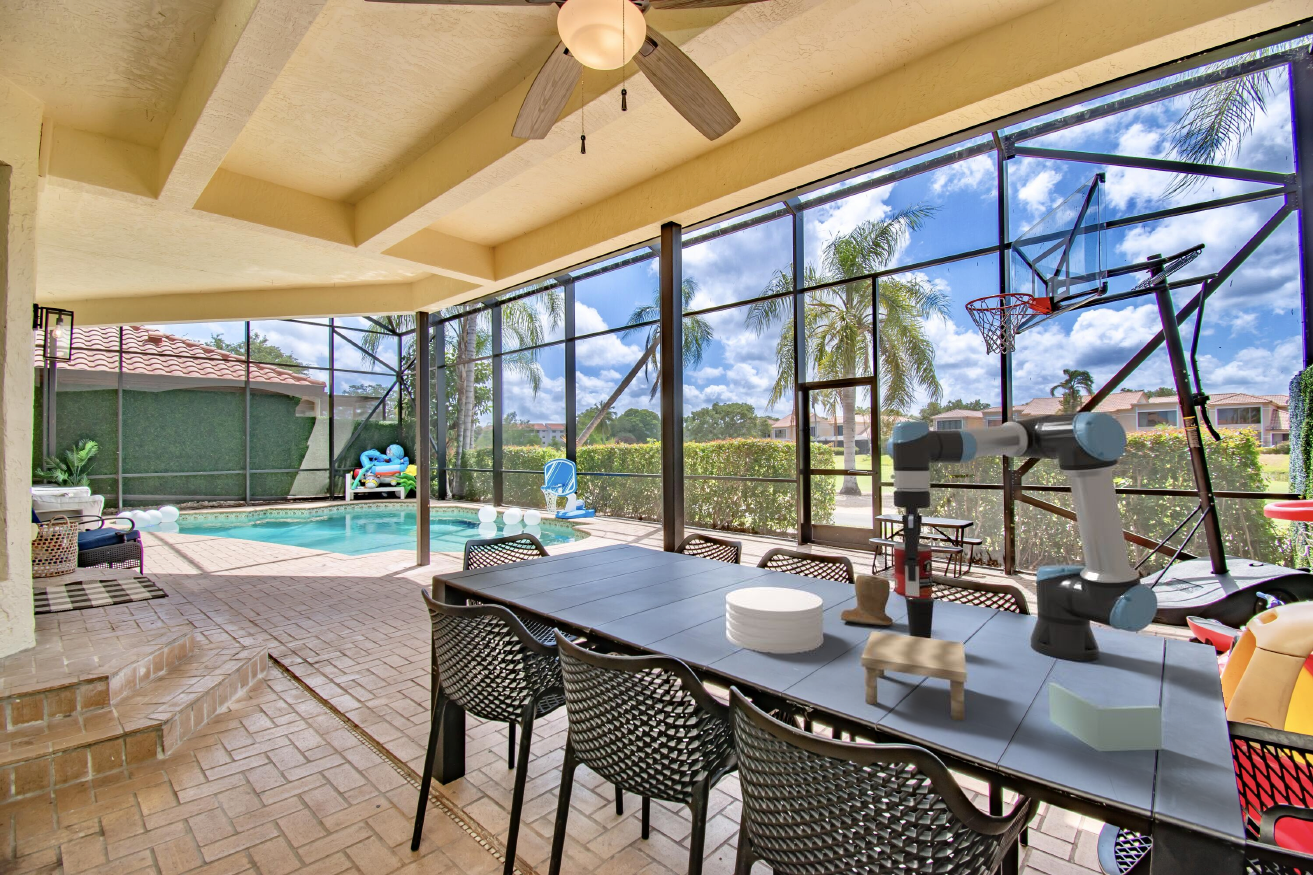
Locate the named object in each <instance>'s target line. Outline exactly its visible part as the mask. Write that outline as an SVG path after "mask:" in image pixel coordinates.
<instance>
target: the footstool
mask: <svg viewBox="0 0 1313 875" xmlns="http://www.w3.org/2000/svg"><path fill="white" fill-rule="evenodd" d="M964 644H965V643H964V642H960V641H951V640H946V639H945V640H944V639H938V638H937V639H936V638H931V639H930V638H922V637H914V636H910V635H906V634H897V633H889V632H883V631H874V630H872V631H871V632H870V635H869V637H868V639H867V642H866V645H865V647H864V649H863V653H862V655H861V667H864V677H865V678H864V680H865V681H864V687H865V689H864V690H865V693H864V695H865V703H866V704H868V705H872V706H874V705H877V704H878V678H884V677H885V671H888V672H894V673H901V674H908V675H915V676H921V677H927V678H934V679H940V680H948V681H949V687H950V717H951V719H952V720H955V721H964V720H965V683H968V679H967V678H968V677H967V676H968V675H967V674H968V673H967V666H966V665H967V664H966V654H965V646H964Z"/></svg>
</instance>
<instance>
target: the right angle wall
mask: <svg viewBox="0 0 1313 875" xmlns="http://www.w3.org/2000/svg"><path fill="white" fill-rule="evenodd" d="M1048 701H1049V706H1048V707H1049V709H1048V710H1049V721H1050V722H1051V723H1053V724H1055V725H1057V726H1058V727H1060V728H1061V729H1063V730H1064V731H1066V732H1067V733H1069V734H1071V735H1072V736H1074V737H1076V738H1077V739H1078V740H1080V741H1081V742H1083V743H1085V744H1086V745H1088V746H1090V748H1093V749H1094V750H1096V751H1098V752H1116V751H1117V752H1119V751H1151V750H1153V751H1154V750H1163V740H1162V738H1163V736H1162V707H1161V706H1159V705H1156V704H1155V705H1130V706H1128V705H1123V706H1098V705H1097V704H1094V703H1092V702H1090V701H1089V700H1087V699H1085V698H1083V697H1082V696H1080V695H1077V694H1076V693H1075V692H1072V691H1070V690H1068V689H1066V688H1065V687H1063V686H1061V685H1060V684H1057V683H1055V682H1048Z"/></svg>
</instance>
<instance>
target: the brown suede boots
mask: <svg viewBox="0 0 1313 875" xmlns="http://www.w3.org/2000/svg"><path fill="white" fill-rule="evenodd" d="M854 581H855V582H854V590H855V591H854V592H855V597H856V607H855V608H853V609H844V610H843V611H842V612H841V614H840V620H841V621H844V622H847V623H848V622H849V623H857V624H862V625H876V626H890V625H892V624H893V623H894V621H893V619H892V617H890V616H888V615H887V613H886V607H887V604H888V601H889V598H890V592H891V591H890V589H891V585H890V581H889V579H887V578H885V577H880V576H875V575H874V576H873V575H867V574H866V575H865V574H858V575H856V578H855V580H854Z"/></svg>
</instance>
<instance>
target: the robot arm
mask: <svg viewBox="0 0 1313 875" xmlns="http://www.w3.org/2000/svg"><path fill="white" fill-rule="evenodd" d="M929 426H930V425H929V423H928V422H927V421H921V420H918V421H917V420H915V421H913V420H911V421H898V422H895V423H894V425H893V427H892V436H890V437H889V438H888V440H887V443H886V453H887V455H888V457H889V458H890V459H891V460H892V464H893V468H892V469H893V474H890V479H893V487H894V488H895V490H894V491H893V506H895V507H896V508H900V509H901V508H902V509H903V508H904V509H905V514H902V516H901V521H902V524H903V526H902V528H903V529H902V530H903V531H902V532H903V535H904V543H905V560H904V562H902V565H905V588H906V595H909V596H919V566H918V565H919V563H918V544H919V543H920V536H921V532H922V522H923V515H920V512H919V509H928V508H930V507H931V492H930V491H929V490H928V489H930V488H931V471H930V470H931V468H930V466H931V464H961V463H969V462H971V461H972V460H973V459H975V458H976V457H987V456H989V457H991V456H1001V455H1002V456H1003V455H1004V456H1006V457H1008V458H1032V459H1033V458H1034V459H1044V460H1057V461H1058V465H1059V471H1062V472H1063V473H1064V474H1065V475H1067V476H1068V480H1069V484H1070V490H1071V495H1072V501H1073V504H1074V506H1073V507H1074V511H1075V514H1076V515H1075V516H1076V521H1077V527H1078V532H1079V536H1080V537H1079V538H1080V542H1081V547H1082V553H1083V556H1084V563H1085V565H1084V566H1083V565H1074V564H1073V565H1072V564H1071V565H1069V564H1068V565H1066V564H1062V565H1061V564H1057V565H1056V564H1053V565H1051V564H1050V565H1042V566H1040V567H1038V569H1037V570H1036V580H1035V582H1036V583H1035V584H1036V605H1037V606H1036V607H1037V608H1036V609H1037V611H1036V612H1037V620H1036V622H1035V626H1034V628H1033V631H1032V634H1031V636H1030V647H1031V649H1033V650H1034V651H1036V652H1038V653H1041V654H1043V655H1045V656H1050V657H1054V658H1058V659H1064V660H1071V661H1081V662H1083V661H1084V662H1085V661H1086V662H1087V661H1095V660H1098V659H1099V658H1100V648H1099V645H1098V643H1097V640H1096V638H1095V634H1094V632H1093V630H1092V627H1091V622H1093V623H1096V624H1100V625H1104V626H1107V627H1110V628H1113V629H1115V630H1121V631H1125V632H1130V633H1131V632H1132V633H1133V632H1134V633H1135V632H1139V631H1142V630H1144V629H1146V628H1148V626H1149V625H1150V624H1151V623H1152V621H1153V619H1154V618H1155V616H1156V613H1157V611H1158V598H1157V593H1155V591H1154V590H1153V589H1152V588H1151V587H1149V586H1148V585H1145V584H1142V583H1141V577H1140V573H1139V572H1138V571H1137V570H1136V569H1134V568H1133V567H1131V566H1130V561H1129V556H1128V550H1127V546H1126V545H1127V544H1126V541H1125V540H1126V539H1125V535H1124V534H1125V533H1124V530H1123V524H1122V521H1121V520H1122V519H1121V515H1120V514H1121V513H1120V509H1119V505H1118V498H1117V494H1116V489H1115V488H1116V487H1115V483H1114V478H1113V470H1114V469H1115V468H1116V467H1117V466H1118V465H1119V461H1118V459H1119V458H1122V456H1123V455H1124V454H1125V451H1126V449H1125V448H1126V447H1127V445H1128V444H1127V443H1128V440H1127V439H1128V438H1127V434H1126V431H1125V429H1124V427H1123V424H1122V423H1121V422H1120V421H1119V420H1118V419H1117V418H1115V417H1113V416H1112V414H1109V413H1106V412H1100V411H1097V412H1095V411H1094V412H1091V411H1082V412H1072V413H1061V414H1060V413H1059V414H1046V415H1042V416H1036V417H1031V418H1027V419H1022V420H1015V421H1014V420H1013V421H1006V422H1004V423H1002V425H999V426H998V425H997V426H983V427H969V428H967V427H966V428H959V429H958V428H957V429H956V428H955V429H943V430H942V429H941V430H939V429H938V430H931V429H930V427H929ZM920 544H921V543H920ZM909 558H913V559H909Z"/></svg>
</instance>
